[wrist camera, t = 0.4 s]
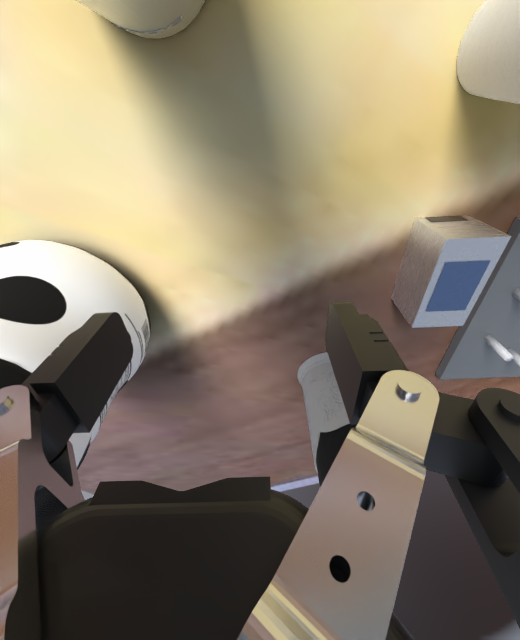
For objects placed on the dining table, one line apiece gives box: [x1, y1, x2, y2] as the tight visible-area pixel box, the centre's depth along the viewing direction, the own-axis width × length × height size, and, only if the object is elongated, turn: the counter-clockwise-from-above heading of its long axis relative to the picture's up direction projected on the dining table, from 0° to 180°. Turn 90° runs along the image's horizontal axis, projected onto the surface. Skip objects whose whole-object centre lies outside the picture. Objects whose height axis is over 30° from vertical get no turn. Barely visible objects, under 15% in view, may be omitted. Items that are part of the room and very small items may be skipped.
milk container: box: [0, 240, 151, 470], centre depth 24 cm, size 17×17×18 cm
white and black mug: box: [297, 352, 357, 487], centre depth 32 cm, size 9×14×15 cm, turn 118°
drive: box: [391, 215, 511, 328], centre depth 26 cm, size 9×5×6 cm, turn 3°
